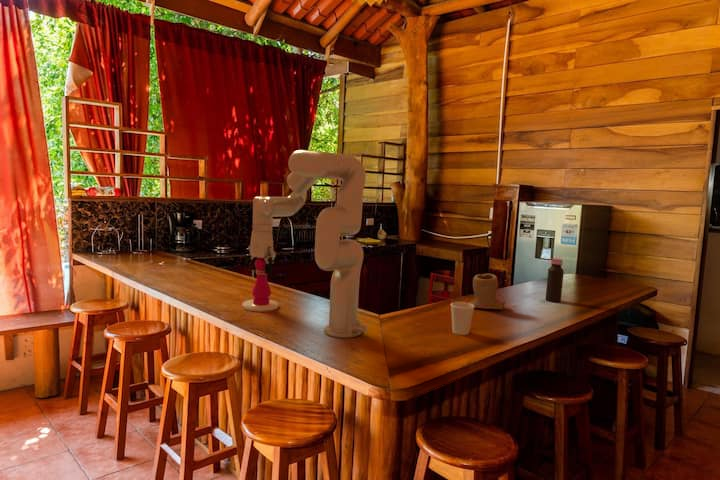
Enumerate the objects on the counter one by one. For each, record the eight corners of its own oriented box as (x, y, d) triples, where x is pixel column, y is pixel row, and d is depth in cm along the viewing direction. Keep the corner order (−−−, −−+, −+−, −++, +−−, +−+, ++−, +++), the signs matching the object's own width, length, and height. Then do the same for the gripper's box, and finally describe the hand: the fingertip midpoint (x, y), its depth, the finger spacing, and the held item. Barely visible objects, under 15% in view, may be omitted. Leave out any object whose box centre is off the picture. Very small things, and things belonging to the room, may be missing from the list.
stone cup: (469, 310, 200) (471, 275, 198) (468, 303, 211) (471, 270, 210) (506, 314, 197) (509, 278, 195) (504, 307, 208) (507, 273, 206)
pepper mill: (273, 302, 190) (275, 253, 188) (265, 306, 184) (266, 255, 181) (257, 300, 192) (258, 251, 190) (248, 304, 185) (249, 253, 183)
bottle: (558, 299, 229) (562, 258, 226) (562, 303, 222) (566, 260, 220) (543, 298, 229) (547, 257, 227) (547, 302, 223) (551, 259, 220)
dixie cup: (455, 327, 174) (457, 300, 172) (476, 332, 168) (478, 305, 167) (444, 332, 167) (446, 304, 166) (465, 337, 162) (468, 309, 161)
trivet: (285, 306, 191) (285, 302, 191) (262, 313, 179) (262, 309, 179) (258, 300, 198) (258, 297, 198) (234, 307, 186) (234, 303, 186)
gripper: (242, 226, 188) (241, 269, 190) (266, 230, 176) (265, 276, 178) (258, 226, 194) (258, 267, 195) (283, 229, 181) (282, 274, 183)
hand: (261, 271), depth 187 cm, fingers open, 9 cm apart
